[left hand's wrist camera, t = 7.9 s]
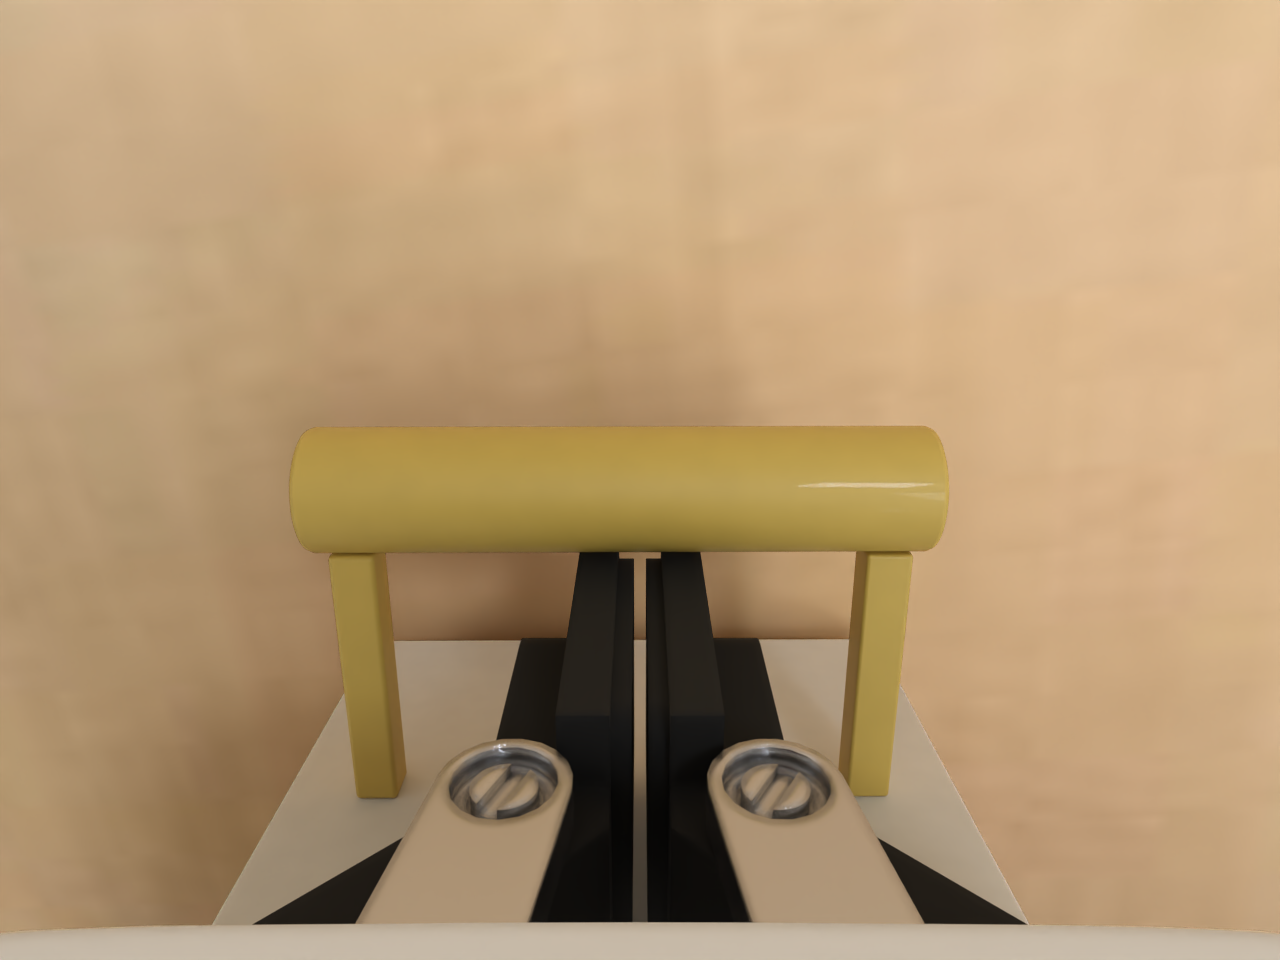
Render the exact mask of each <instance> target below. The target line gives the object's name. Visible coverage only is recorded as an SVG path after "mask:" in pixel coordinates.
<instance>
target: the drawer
mask: <svg viewBox="0 0 1280 960" xmlns="http://www.w3.org/2000/svg"><path fill="white" fill-rule="evenodd" d="M289 501H290V511H291V517H292V522H293V526H294V529H295V533H296V535H297V538H298V540H299V541H300V543H301V545H302V546H303V547H304V548H305V549H307V550H309V551H311V552H313V553H332V554H331V555H330V557H329V560H328V562H329V570H330V578H331V587H332V595H333V603H334V612H335V620H336V628H337V637H338V645H339V653H340V662H341V670H342V678H343V687H344V694H343V696H342V697H341V699H340V701H339V703H338V704H337V706H336V708H335V710H334V711H333V713H332V715H331V717H330V718H329V720H328V722H327V724H326V725H325V727H324V729H323V731H322V732H321V734H320V736H319V738H318V739H317V741H316V743H315V745H314V746H313V748H312V750H311V752H310V753H309V755H308V757H307V759H306V760H305V762H304V764H303V766H302V767H301V769H300V771H299V773H298V774H297V776H296V778H295V780H294V781H293V783H292V785H291V787H290V788H289V790H288V792H287V794H286V795H285V797H284V799H283V801H282V802H281V804H280V806H279V808H278V809H277V811H276V813H275V815H274V816H273V818H272V820H271V822H270V823H269V825H268V827H267V829H266V830H265V832H264V834H263V836H262V837H261V839H260V841H259V843H258V845H257V846H256V848H255V850H254V852H253V853H252V855H251V857H250V859H249V860H248V862H247V864H246V866H245V867H244V869H243V871H242V873H241V874H240V876H239V878H238V880H237V881H236V883H235V885H234V887H233V888H232V890H231V892H230V894H229V895H228V897H227V899H226V901H225V902H224V904H223V906H222V908H221V909H220V911H219V913H218V915H217V916H216V918H215V920H214V922H213V923H212V925H252V924H254V923H256V922H257V921H259V920H261V919H263V918H264V917H266V916H268V915H269V914H271V913H273V912H275V911H276V910H278V909H280V908H282V907H283V906H285V905H287V904H288V903H290V902H292V901H294V900H295V899H297V898H299V897H300V896H302V895H304V894H306V893H307V892H309V891H311V890H313V889H314V888H316V887H318V886H319V885H321V884H323V883H325V882H326V881H328V880H330V879H332V878H333V877H335V876H337V875H338V874H340V873H342V872H344V871H345V870H347V869H349V868H351V867H352V866H354V865H356V864H357V863H359V862H361V861H363V860H364V859H366V858H368V857H370V856H371V855H373V854H375V853H376V852H378V851H380V850H382V849H383V848H385V847H387V846H389V845H390V844H392V843H394V842H395V841H397V840H399V839H401V838H402V837H403V836H404V835H405V833H406V831H407V829H408V827H409V826H410V824H411V822H412V820H413V818H414V817H415V815H416V813H417V811H418V809H419V808H420V806H421V804H422V802H423V800H424V799H425V797H426V795H427V793H428V791H429V790H430V788H431V786H432V784H433V782H434V780H435V779H436V777H437V775H438V774H439V772H440V771H441V770H442V769H443V767H444V766H445V765H446V764H447V762H448V761H450V760H451V759H453V758H454V757H455V756H457V755H458V754H460V753H461V752H462V751H464V750H466V749H469V748H471V747H474V746H476V745H479V744H481V743H485V742H490V741H495V740H496V738H497V734H498V730H499V726H500V722H501V718H502V714H503V710H504V706H505V702H506V697H507V693H508V689H509V685H510V681H511V677H512V673H513V669H514V665H515V661H516V657H517V653H518V649H519V645H520V642H521V640H489V641H394V638H393V627H392V617H391V607H390V597H389V586H388V576H387V566H386V556H385V553H489V552H820V551H856V562H855V574H854V586H853V598H852V610H851V622H850V634H849V639H759V642H760V645H761V649H762V653H763V657H764V661H765V665H766V669H767V673H768V677H769V681H770V685H771V689H772V693H773V697H774V702H775V706H776V710H777V714H778V718H779V722H780V726H781V730H782V734H783V738H784V740H785V741H790V742H795V743H799V744H801V745H804V746H806V747H809V748H811V749H814V750H816V751H818V752H819V753H820V754H822V755H823V756H825V757H826V758H827V759H829V760H830V761H832V762H833V764H834V765H835V766H836V767H837V769H838V770H839V771H840V772H841V774H842V775H843V777H844V779H845V780H846V782H847V784H848V786H849V788H850V790H851V791H852V793H853V795H854V797H855V799H856V800H857V802H858V804H859V806H860V808H861V809H862V811H863V813H864V815H865V817H866V818H867V820H868V822H869V824H870V826H871V827H872V829H873V831H874V833H875V835H876V836H877V837H878V838H879V839H881V840H883V841H885V842H886V843H888V844H890V845H891V846H893V847H895V848H897V849H898V850H900V851H902V852H904V853H905V854H907V855H909V856H910V857H912V858H914V859H916V860H917V861H919V862H921V863H923V864H924V865H926V866H928V867H929V868H931V869H933V870H935V871H936V872H938V873H940V874H942V875H943V876H945V877H947V878H948V879H950V880H952V881H954V882H955V883H957V884H959V885H961V886H962V887H964V888H966V889H967V890H969V891H971V892H973V893H974V894H976V895H978V896H980V897H981V898H983V899H985V900H986V901H988V902H990V903H992V904H993V905H995V906H997V907H999V908H1000V909H1002V910H1004V911H1005V912H1007V913H1009V914H1011V915H1012V916H1014V917H1016V918H1017V919H1019V920H1021V921H1023V922H1024V923H1026V924H1028V925H1029V923H1028V921H1027V919H1026V917H1025V915H1024V913H1023V912H1022V910H1021V908H1020V906H1019V904H1018V902H1017V900H1016V899H1015V897H1014V895H1013V893H1012V891H1011V889H1010V887H1009V886H1008V884H1007V882H1006V880H1005V878H1004V876H1003V874H1002V873H1001V871H1000V869H999V867H998V865H997V863H996V861H995V860H994V858H993V856H992V854H991V852H990V850H989V848H988V847H987V845H986V843H985V841H984V839H983V837H982V835H981V834H980V832H979V830H978V828H977V826H976V824H975V822H974V820H973V819H972V817H971V815H970V813H969V811H968V809H967V807H966V806H965V804H964V802H963V800H962V798H961V796H960V794H959V793H958V791H957V789H956V787H955V785H954V783H953V781H952V780H951V778H950V776H949V774H948V772H947V770H946V768H945V767H944V765H943V763H942V761H941V759H940V757H939V755H938V754H937V752H936V750H935V748H934V746H933V744H932V742H931V741H930V739H929V737H928V735H927V733H926V731H925V729H924V728H923V726H922V724H921V722H920V720H919V718H918V716H917V715H916V713H915V711H914V709H913V707H912V705H911V703H910V702H909V700H908V698H907V696H906V694H905V692H904V690H903V689H902V687H901V685H900V676H901V666H902V657H903V647H904V638H905V628H906V619H907V609H908V600H909V590H910V581H911V571H912V562H913V556H912V554H911V553H910V552H909V551H927V550H929V549H932V548H933V547H935V546H936V545H937V543H938V542H939V540H940V538H941V535H942V533H943V530H944V526H945V522H946V517H947V511H948V501H949V477H948V468H947V462H946V457H945V453H944V449H943V446H942V443H941V441H940V439H939V437H938V435H937V433H936V432H935V431H934V430H932V429H931V428H928V427H926V426H650V427H314V428H311V429H309V430H307V431H306V432H304V433H303V435H302V436H301V437H300V439H299V441H298V443H297V445H296V448H295V451H294V454H293V459H292V464H291V470H290V480H289ZM633 922H647V824H646V640H634V824H633Z"/></svg>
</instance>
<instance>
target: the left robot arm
mask: <svg viewBox="0 0 1280 960" xmlns="http://www.w3.org/2000/svg"><path fill="white" fill-rule="evenodd" d="M633 824H634V559H619V552H580V555H579V561H578V568H577V575H576V581H575V588H574V594H573V601H572V608H571V614H570V621H569V628H568V634H567V638H523V639H521V642H520V645H519V649H518V653H517V657H516V661H515V665H514V669H513V673H512V677H511V681H510V685H509V689H508V693H507V697H506V702H505V706H504V710H503V714H502V718H501V722H500V726H499V730H498V734H497V738H496V740H495V741H490V742H485V743H481V744H479V745H476V746H474V747H471V748H469V749H466V750H464V751H462V752H461V753H460V754H458V755H457V756H455V757H454V758H453V759H451V760H450V761H448V762H447V764H446V765H445V766H444V767H443V769H442V770H441V771H440V772H439V774H438V775H437V777H436V779H435V780H434V782H433V784H432V786H431V788H430V790H429V791H428V793H427V795H426V797H425V799H424V800H423V802H422V804H421V806H420V808H419V809H418V811H417V813H416V815H415V817H414V818H413V820H412V822H411V824H410V826H409V827H408V829H407V831H406V833H405V835H404V836H403V837H402V838H401V839H399V840H397V841H395V842H394V843H392V844H390V845H389V846H387V847H385V848H383V849H382V850H380V851H378V852H376V853H375V854H373V855H371V856H370V857H368V858H366V859H364V860H363V861H361V862H359V863H357V864H356V865H354V866H352V867H351V868H349V869H347V870H345V871H344V872H342V873H340V874H338V875H337V876H335V877H333V878H332V879H330V880H328V881H326V882H325V883H323V884H321V885H319V886H318V887H316V888H314V889H313V890H311V891H309V892H307V893H306V894H304V895H302V896H300V897H299V898H297V899H295V900H294V901H292V902H290V903H288V904H287V905H285V906H283V907H282V908H280V909H278V910H276V911H275V912H273V913H271V914H269V915H268V916H266V917H264V918H263V919H261V920H259V921H257V922H256V923H254V924H252V925H163V926H126V927H100V928H73V929H47V930H22V931H12V932H2V933H0V960H1280V933H1278V932H1268V931H1258V930H1234V929H1207V928H1181V927H1154V926H1117V925H1028V924H1026V923H1024V922H1023V921H1021V920H1019V919H1017V918H1016V917H1014V916H1012V915H1011V914H1009V913H1007V912H1005V911H1004V910H1002V909H1000V908H999V907H997V906H995V905H993V904H992V903H990V902H988V901H986V900H985V899H983V898H981V897H980V896H978V895H976V894H974V893H973V892H971V891H969V890H967V889H966V888H964V887H962V886H961V885H959V884H957V883H955V882H954V881H952V880H950V879H948V878H947V877H945V876H943V875H942V874H940V873H938V872H936V871H935V870H933V869H931V868H929V867H928V866H926V865H924V864H923V863H921V862H919V861H917V860H916V859H914V858H912V857H910V856H909V855H907V854H905V853H904V852H902V851H900V850H898V849H897V848H895V847H893V846H891V845H890V844H888V843H886V842H885V841H883V840H881V839H879V838H878V837H877V836H876V835H875V833H874V831H873V829H872V827H871V826H870V824H869V822H868V820H867V818H866V817H865V815H864V813H863V811H862V809H861V808H860V806H859V804H858V802H857V800H856V799H855V797H854V795H853V793H852V791H851V790H850V788H849V786H848V784H847V782H846V780H845V779H844V777H843V775H842V774H841V772H840V771H839V770H838V769H837V767H836V766H835V765H834V764H833V762H832V761H830V760H829V759H827V758H826V757H825V756H823V755H822V754H820V753H819V752H818V751H816V750H814V749H811V748H809V747H806V746H804V745H801V744H799V743H795V742H790V741H785V740H784V738H783V734H782V730H781V726H780V722H779V718H778V714H777V710H776V706H775V702H774V697H773V693H772V689H771V685H770V681H769V677H768V673H767V669H766V665H765V661H764V657H763V653H762V649H761V645H760V642H759V639H757V638H713V634H712V628H711V621H710V614H709V608H708V601H707V594H706V588H705V581H704V575H703V568H702V561H701V555H700V552H661V559H646V824H647V922H633Z"/></svg>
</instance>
